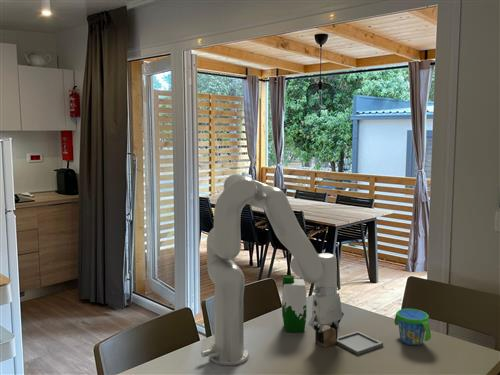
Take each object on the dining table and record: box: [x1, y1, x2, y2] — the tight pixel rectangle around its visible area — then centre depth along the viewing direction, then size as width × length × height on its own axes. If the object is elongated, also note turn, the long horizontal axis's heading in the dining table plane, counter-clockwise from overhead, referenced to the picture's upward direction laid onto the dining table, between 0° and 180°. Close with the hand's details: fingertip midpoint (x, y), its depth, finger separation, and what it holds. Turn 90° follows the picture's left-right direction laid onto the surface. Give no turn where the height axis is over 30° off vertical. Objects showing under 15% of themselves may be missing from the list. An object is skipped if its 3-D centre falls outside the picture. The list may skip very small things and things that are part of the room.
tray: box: [335, 330, 384, 356], centre depth 167 cm, size 12×12×1 cm
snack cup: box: [393, 308, 432, 346], centre depth 168 cm, size 16×10×10 cm
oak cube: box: [314, 325, 337, 348], centre depth 169 cm, size 5×5×5 cm
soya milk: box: [281, 274, 307, 333], centre depth 180 cm, size 9×9×20 cm
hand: (326, 338), depth 169 cm, fingers open, 5 cm apart
